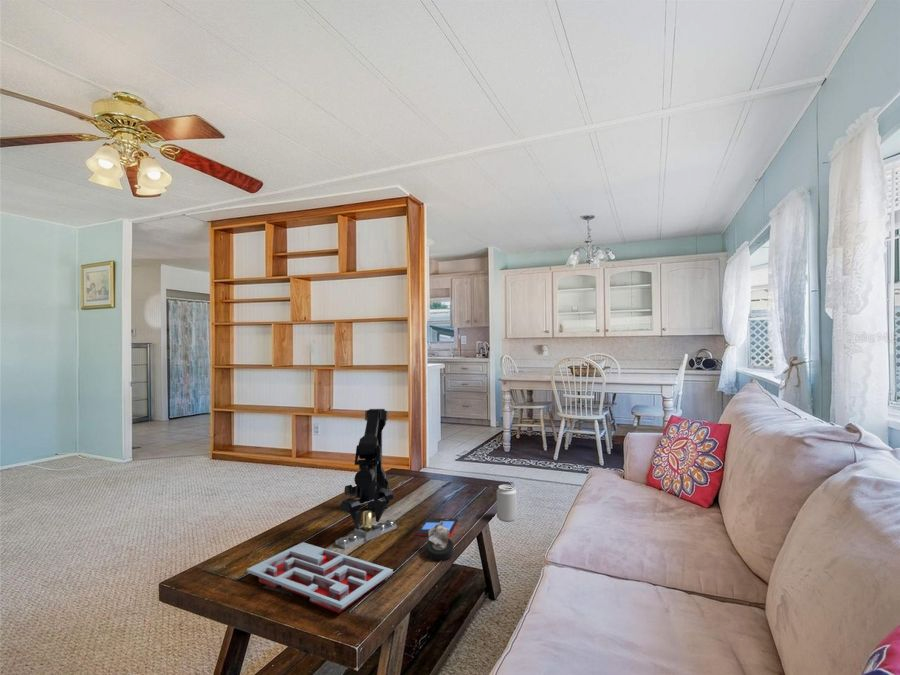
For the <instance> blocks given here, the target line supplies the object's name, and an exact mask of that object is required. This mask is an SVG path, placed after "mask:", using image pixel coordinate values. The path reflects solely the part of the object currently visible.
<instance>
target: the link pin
mask: <svg viewBox="0 0 900 675" xmlns="http://www.w3.org/2000/svg"><path fill="white" fill-rule="evenodd" d="M372 525H373V511H372V510H369V509H367V510H363V511H362V526H363V531H365V532H368V531H370V530H372Z"/></svg>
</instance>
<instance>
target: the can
mask: <svg viewBox="0 0 900 675" xmlns="http://www.w3.org/2000/svg"><path fill="white" fill-rule="evenodd" d="M517 492H518V491H517V490H516V487H515V486H514V485H513V484H500V485H498V488H497V489H496V517H497V519H498V520H499V521H500V522H504V523H509V522H511V523H512V522H514V521H515V520H516V519H517V518H518V510H517V509H518V504H517V502H518V499H517V498H518V493H517Z"/></svg>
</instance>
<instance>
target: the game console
mask: <svg viewBox="0 0 900 675" xmlns="http://www.w3.org/2000/svg"><path fill="white" fill-rule="evenodd" d="M441 521H443V527H445V528H447V529H449V539H451V538H452V537H453V535H452V534H454V533H455V531H456V529H455V527H458V526H459V520H458V519H457V518H440V517H439V518H434V517H432V518H431V517H429V518H426V519H424V522H422V524H421V525H420V527H419V528H418V529H417V531H416V532H415V533H414V535H415V536H417V537H424V536H428V531H429V530H430V529H432V528H433V527H434V526H436V525H437V524H438V523H440V522H441ZM457 525H458V526H457ZM450 537H451V538H450Z"/></svg>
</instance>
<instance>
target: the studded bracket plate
mask: <svg viewBox="0 0 900 675" xmlns="http://www.w3.org/2000/svg"><path fill="white" fill-rule="evenodd" d="M397 526H398V525H397V524H396V523H395V520H393V519H387V520H385V521H383V522H379V523H377V524H375V525H374V524H372V530H370V531H368V532H365V531H363V525H362V526H361V525H360V527H359V529H358V530H357V529H356V527H355V528H354V533H351V534H349V535H346V536H345V537H339V538H338V539H336V540H335V545H336V546H338V547H339V548H342V549H344V550H346V549H349V548H351V547H354V546H355V545H359V544H360V543H364V542H368V541H370V540H373V539H375V538H379V537H380V536H381V535H383V534H385V533H388V532H391V531H393V530H395V529H396V530H397Z"/></svg>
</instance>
